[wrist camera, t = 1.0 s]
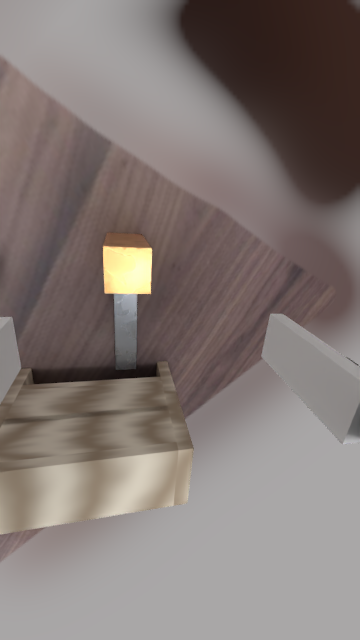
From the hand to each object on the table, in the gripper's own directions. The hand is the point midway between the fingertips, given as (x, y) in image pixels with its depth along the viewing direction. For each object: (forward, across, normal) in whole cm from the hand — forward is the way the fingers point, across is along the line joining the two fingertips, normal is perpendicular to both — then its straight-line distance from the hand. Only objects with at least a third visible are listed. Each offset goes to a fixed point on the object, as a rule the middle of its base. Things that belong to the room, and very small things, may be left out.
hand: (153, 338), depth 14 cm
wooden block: (+22, -1, -6) cm, 23 cm away
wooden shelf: (+22, -5, -19) cm, 29 cm away
